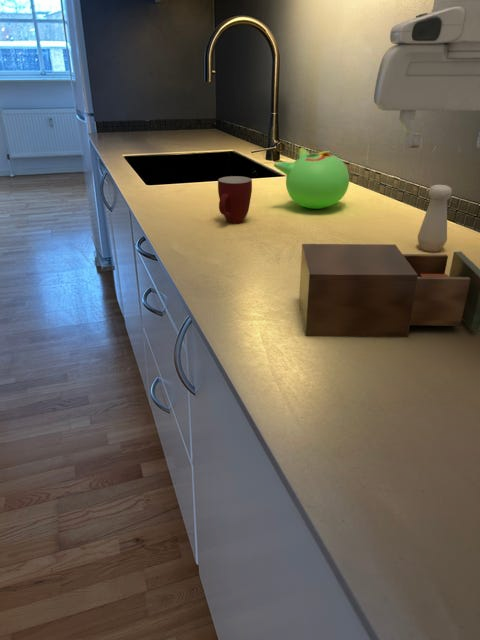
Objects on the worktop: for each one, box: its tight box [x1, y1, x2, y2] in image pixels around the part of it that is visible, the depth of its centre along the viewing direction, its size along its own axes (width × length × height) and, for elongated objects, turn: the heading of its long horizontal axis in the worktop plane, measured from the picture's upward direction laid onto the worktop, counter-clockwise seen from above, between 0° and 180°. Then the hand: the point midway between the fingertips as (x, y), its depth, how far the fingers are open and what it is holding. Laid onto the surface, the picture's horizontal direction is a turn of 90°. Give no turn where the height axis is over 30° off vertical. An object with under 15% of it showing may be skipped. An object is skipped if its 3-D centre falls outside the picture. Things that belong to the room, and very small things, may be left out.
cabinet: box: [298, 243, 418, 338], centre depth 77 cm, size 15×13×10 cm
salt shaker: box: [417, 184, 453, 253], centre depth 104 cm, size 6×6×13 cm
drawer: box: [402, 251, 480, 331], centre depth 76 cm, size 18×11×8 cm, turn 88°
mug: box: [217, 175, 253, 224], centre depth 122 cm, size 10×8×10 cm
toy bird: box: [273, 147, 350, 210], centre depth 133 cm, size 18×17×15 cm
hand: (447, 147), depth 67 cm, fingers open, 8 cm apart
